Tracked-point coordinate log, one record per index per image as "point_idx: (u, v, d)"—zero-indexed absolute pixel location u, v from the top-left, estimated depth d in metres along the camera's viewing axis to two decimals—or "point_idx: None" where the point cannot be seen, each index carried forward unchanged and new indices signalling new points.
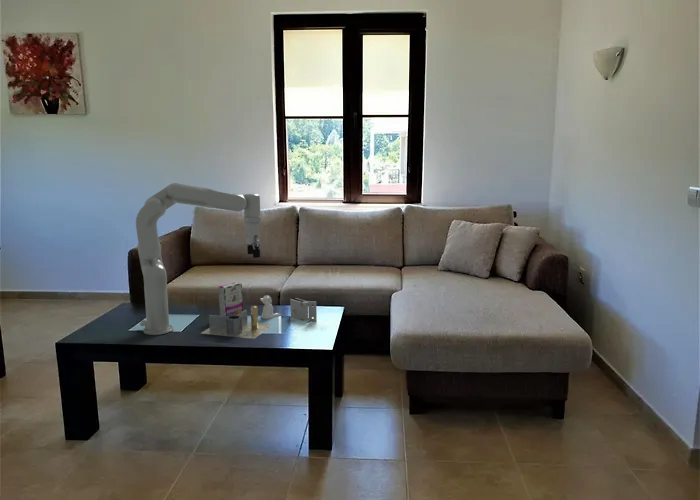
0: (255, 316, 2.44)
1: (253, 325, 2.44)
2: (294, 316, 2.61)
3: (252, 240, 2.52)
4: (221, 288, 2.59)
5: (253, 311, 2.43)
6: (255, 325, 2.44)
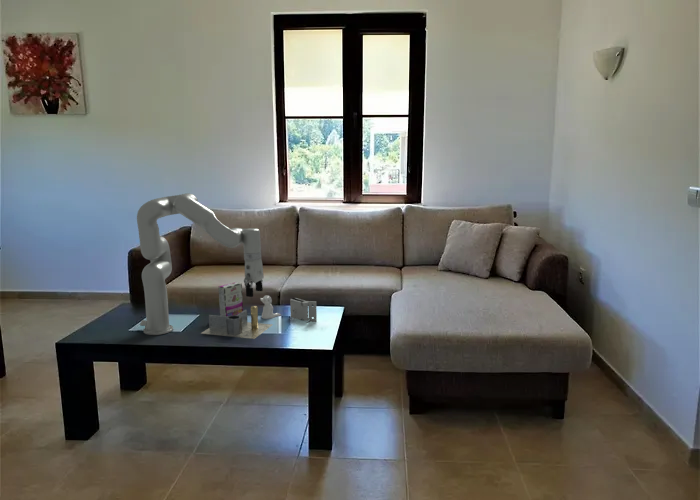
0: (255, 316, 2.44)
1: (253, 325, 2.44)
2: (294, 316, 2.61)
3: None
4: (221, 288, 2.59)
5: (253, 311, 2.43)
6: (255, 325, 2.44)
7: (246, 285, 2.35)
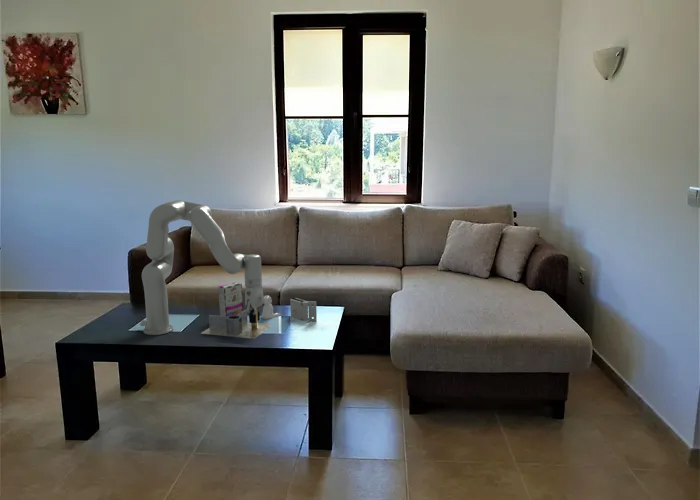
0: None
1: (253, 325, 2.44)
2: (294, 316, 2.61)
3: None
4: (221, 288, 2.59)
5: None
6: (255, 325, 2.44)
7: (250, 312, 2.40)
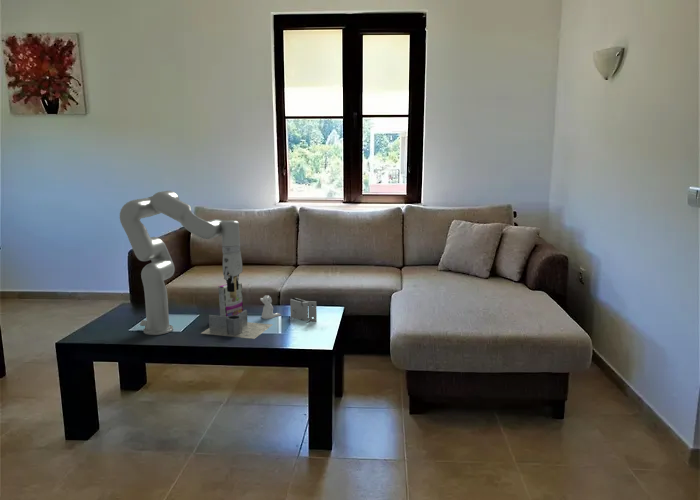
0: None
1: (231, 294, 2.35)
2: (294, 316, 2.61)
3: None
4: (221, 288, 2.59)
5: None
6: (233, 294, 2.35)
7: (227, 280, 2.32)
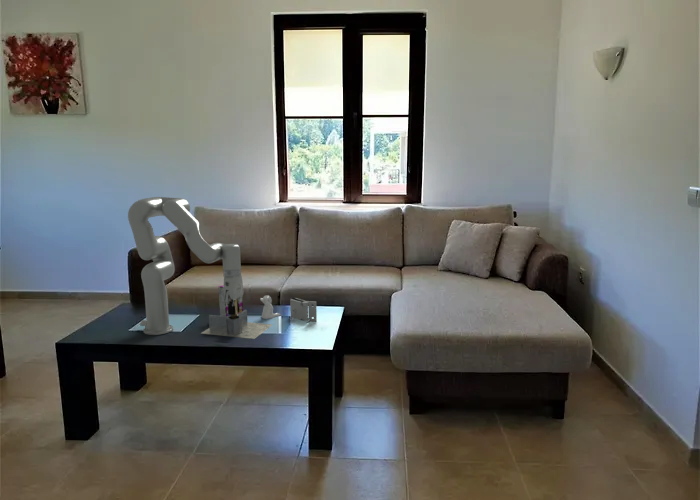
0: None
1: (232, 317, 2.37)
2: (294, 316, 2.61)
3: None
4: (221, 288, 2.59)
5: None
6: (234, 317, 2.37)
7: (228, 303, 2.33)
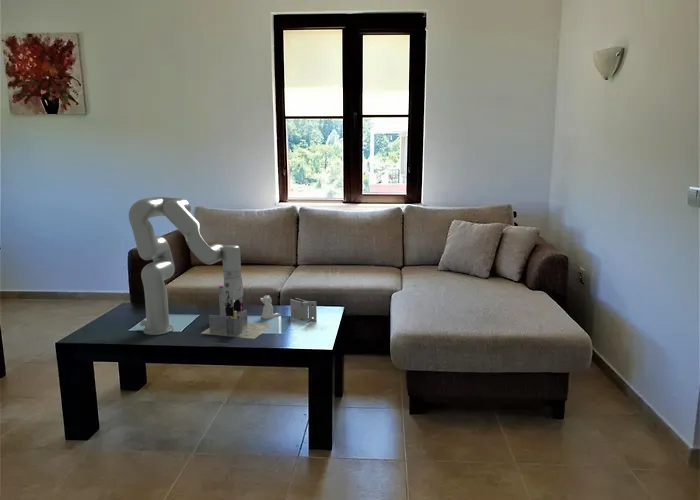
0: None
1: None
2: (294, 316, 2.61)
3: None
4: (221, 288, 2.59)
5: None
6: None
7: (226, 305, 2.32)
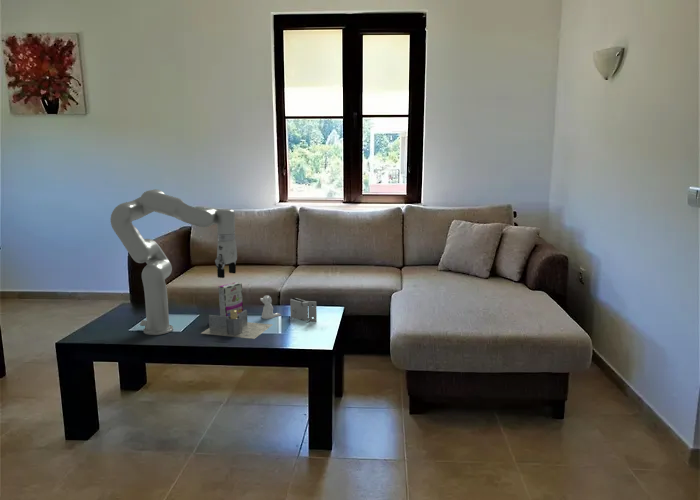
0: None
1: None
2: (294, 316, 2.61)
3: None
4: (221, 288, 2.59)
5: (233, 315, 2.37)
6: None
7: (217, 266, 2.33)
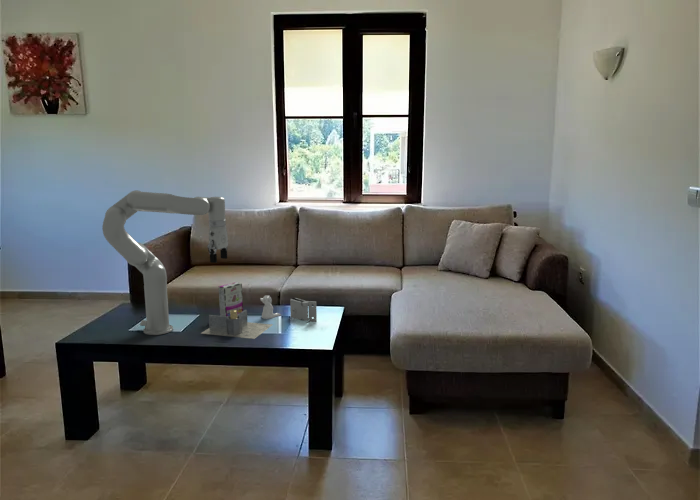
0: None
1: None
2: (294, 316, 2.61)
3: None
4: (221, 288, 2.59)
5: (233, 315, 2.37)
6: None
7: (210, 251, 2.43)
